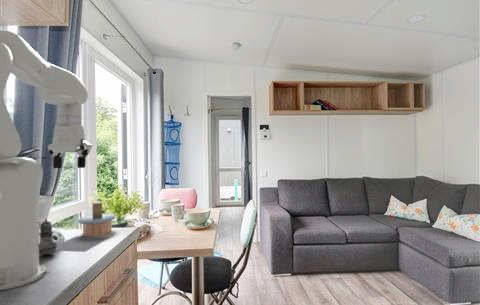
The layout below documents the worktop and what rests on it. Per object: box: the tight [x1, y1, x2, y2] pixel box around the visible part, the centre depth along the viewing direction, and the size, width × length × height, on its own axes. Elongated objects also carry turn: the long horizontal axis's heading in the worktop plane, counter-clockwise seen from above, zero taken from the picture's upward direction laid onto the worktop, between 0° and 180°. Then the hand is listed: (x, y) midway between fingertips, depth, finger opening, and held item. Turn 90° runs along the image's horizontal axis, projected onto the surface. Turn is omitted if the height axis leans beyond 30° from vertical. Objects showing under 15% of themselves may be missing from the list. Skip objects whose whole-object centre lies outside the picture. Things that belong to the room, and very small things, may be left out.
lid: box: [78, 201, 116, 225], centre depth 107 cm, size 13×13×7 cm
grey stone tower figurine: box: [39, 218, 59, 259], centre depth 83 cm, size 6×6×12 cm
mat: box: [54, 236, 111, 253], centre depth 94 cm, size 14×14×1 cm
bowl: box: [82, 221, 112, 237], centre depth 107 cm, size 10×10×6 cm
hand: (69, 167), depth 98 cm, fingers open, 9 cm apart
